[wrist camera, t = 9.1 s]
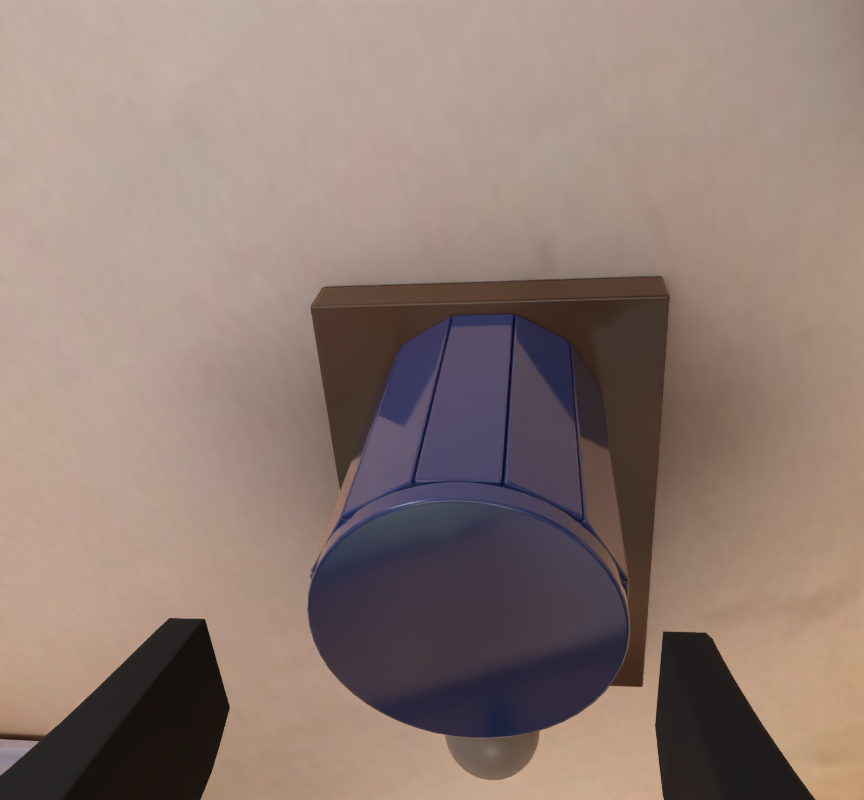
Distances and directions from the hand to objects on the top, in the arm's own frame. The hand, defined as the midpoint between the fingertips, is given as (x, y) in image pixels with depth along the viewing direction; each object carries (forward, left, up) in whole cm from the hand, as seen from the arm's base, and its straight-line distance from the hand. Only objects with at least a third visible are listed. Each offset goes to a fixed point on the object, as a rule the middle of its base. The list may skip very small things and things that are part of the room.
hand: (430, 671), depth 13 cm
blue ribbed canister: (0, -1, -8) cm, 8 cm away
